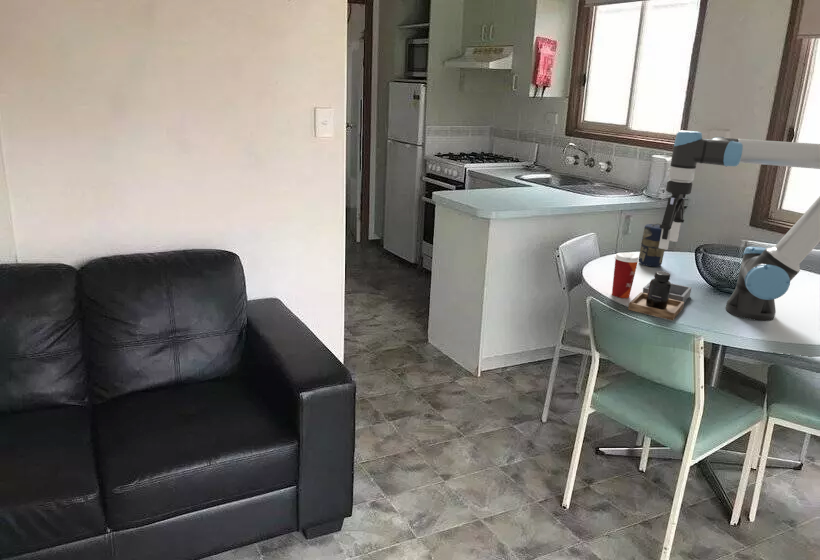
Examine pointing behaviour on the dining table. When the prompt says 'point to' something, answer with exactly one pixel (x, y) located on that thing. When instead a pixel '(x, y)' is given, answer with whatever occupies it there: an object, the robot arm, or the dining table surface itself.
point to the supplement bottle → (659, 290)
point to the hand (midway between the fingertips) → (668, 244)
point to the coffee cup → (624, 274)
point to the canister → (651, 246)
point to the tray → (668, 313)
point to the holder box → (675, 292)
